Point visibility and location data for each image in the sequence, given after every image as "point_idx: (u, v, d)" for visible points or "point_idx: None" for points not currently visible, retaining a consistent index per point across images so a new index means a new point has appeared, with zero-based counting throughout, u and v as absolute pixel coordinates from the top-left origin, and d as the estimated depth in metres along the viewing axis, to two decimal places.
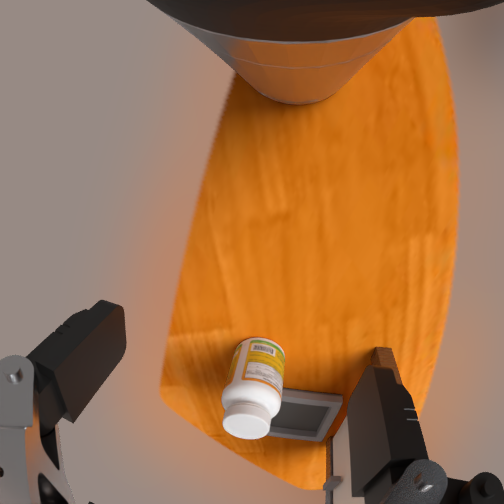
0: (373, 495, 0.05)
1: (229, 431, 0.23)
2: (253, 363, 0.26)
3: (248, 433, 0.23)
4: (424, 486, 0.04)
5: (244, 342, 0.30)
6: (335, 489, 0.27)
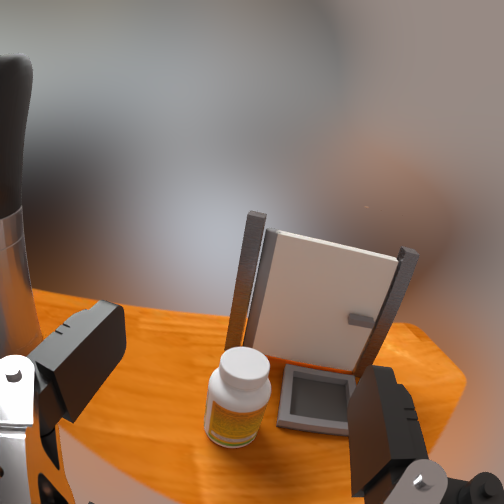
0: (373, 495, 0.05)
1: (256, 376, 0.22)
2: None
3: (257, 362, 0.23)
4: (424, 486, 0.04)
5: (207, 432, 0.25)
6: (370, 316, 0.33)
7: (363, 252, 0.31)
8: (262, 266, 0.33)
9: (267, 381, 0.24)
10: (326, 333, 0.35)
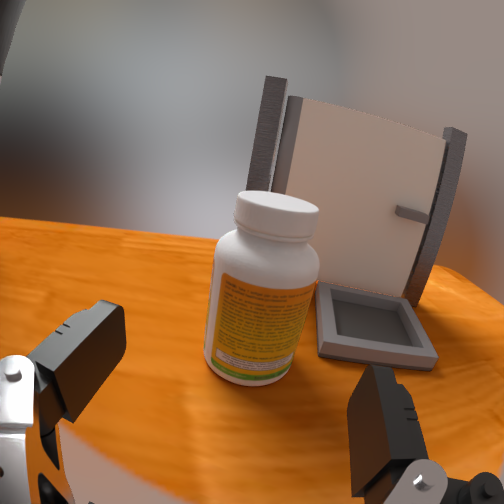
0: (373, 495, 0.05)
1: (302, 210, 0.13)
2: None
3: (298, 203, 0.15)
4: (424, 486, 0.04)
5: (208, 359, 0.16)
6: (421, 212, 0.25)
7: None
8: (285, 139, 0.25)
9: (312, 248, 0.16)
10: (368, 237, 0.26)
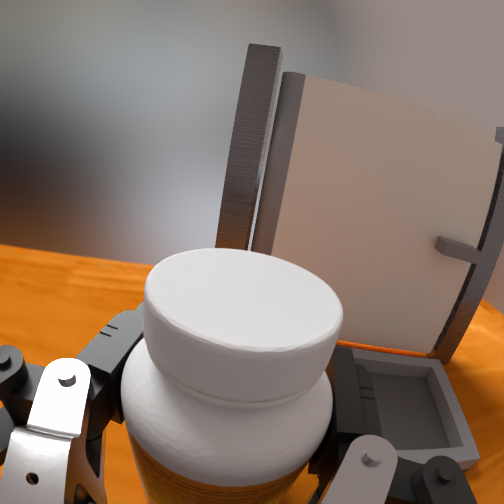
0: (325, 470, 0.06)
1: (300, 335, 0.05)
2: None
3: (293, 288, 0.06)
4: (369, 461, 0.05)
5: (147, 499, 0.08)
6: (468, 245, 0.16)
7: (453, 121, 0.14)
8: (277, 137, 0.16)
9: None
10: (396, 280, 0.18)
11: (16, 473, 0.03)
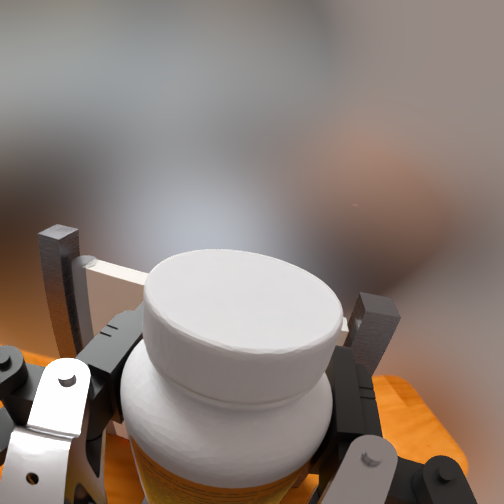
0: (325, 470, 0.06)
1: (300, 337, 0.05)
2: None
3: (293, 290, 0.06)
4: (369, 461, 0.05)
5: (147, 500, 0.08)
6: None
7: None
8: (80, 323, 0.16)
9: None
10: None
11: (16, 473, 0.03)
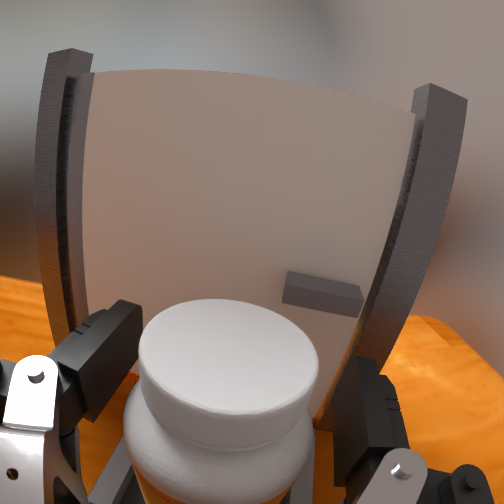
0: (353, 483, 0.05)
1: (274, 397, 0.05)
2: None
3: (274, 345, 0.07)
4: (402, 475, 0.04)
5: None
6: (352, 283, 0.12)
7: (309, 85, 0.10)
8: (69, 154, 0.12)
9: None
10: None
11: None
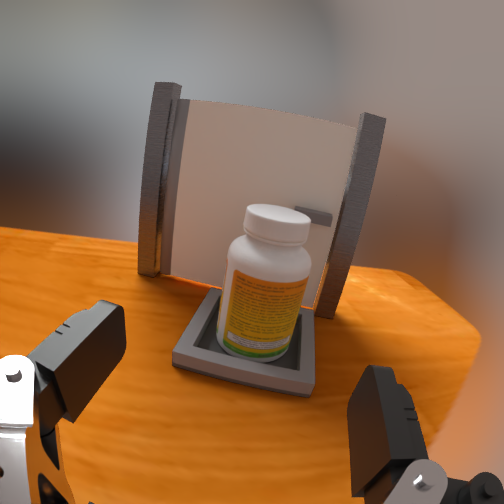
0: (373, 495, 0.05)
1: (296, 221, 0.17)
2: None
3: (294, 214, 0.19)
4: (424, 486, 0.04)
5: (221, 341, 0.20)
6: (328, 213, 0.24)
7: (305, 116, 0.22)
8: (173, 144, 0.24)
9: (305, 250, 0.20)
10: None
11: None
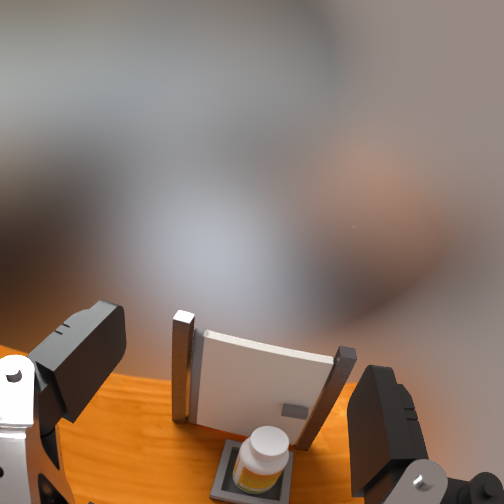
0: (373, 494, 0.05)
1: (279, 451, 0.25)
2: (236, 461, 0.28)
3: (279, 439, 0.26)
4: (424, 486, 0.04)
5: (235, 483, 0.28)
6: (306, 406, 0.32)
7: (294, 355, 0.30)
8: (193, 362, 0.32)
9: None
10: (263, 417, 0.34)
11: None
